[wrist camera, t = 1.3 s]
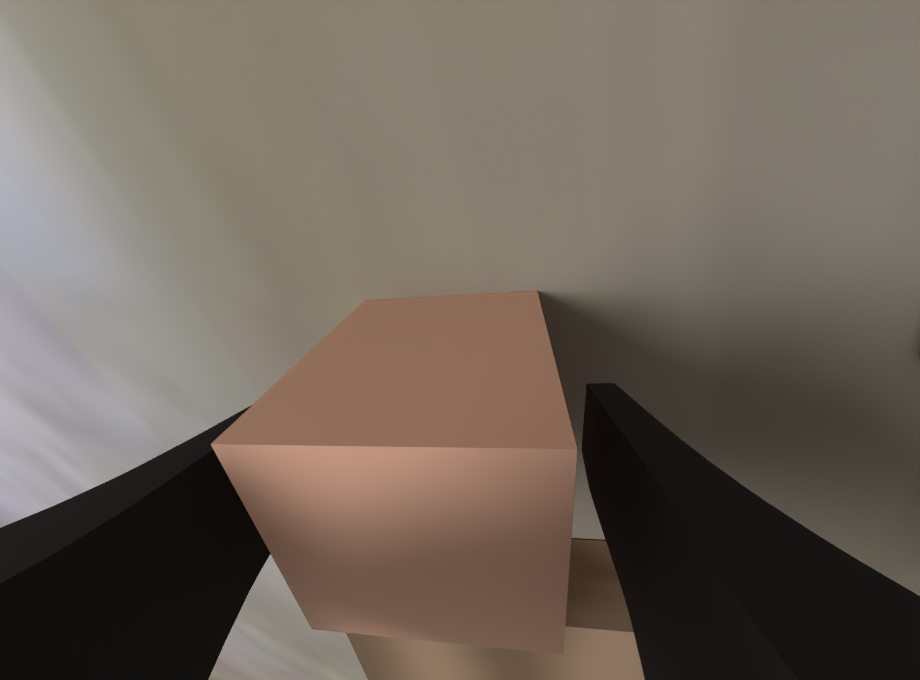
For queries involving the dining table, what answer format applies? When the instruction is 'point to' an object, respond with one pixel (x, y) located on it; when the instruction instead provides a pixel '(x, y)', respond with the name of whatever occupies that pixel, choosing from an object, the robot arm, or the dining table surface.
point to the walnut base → (524, 672)
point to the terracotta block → (419, 474)
